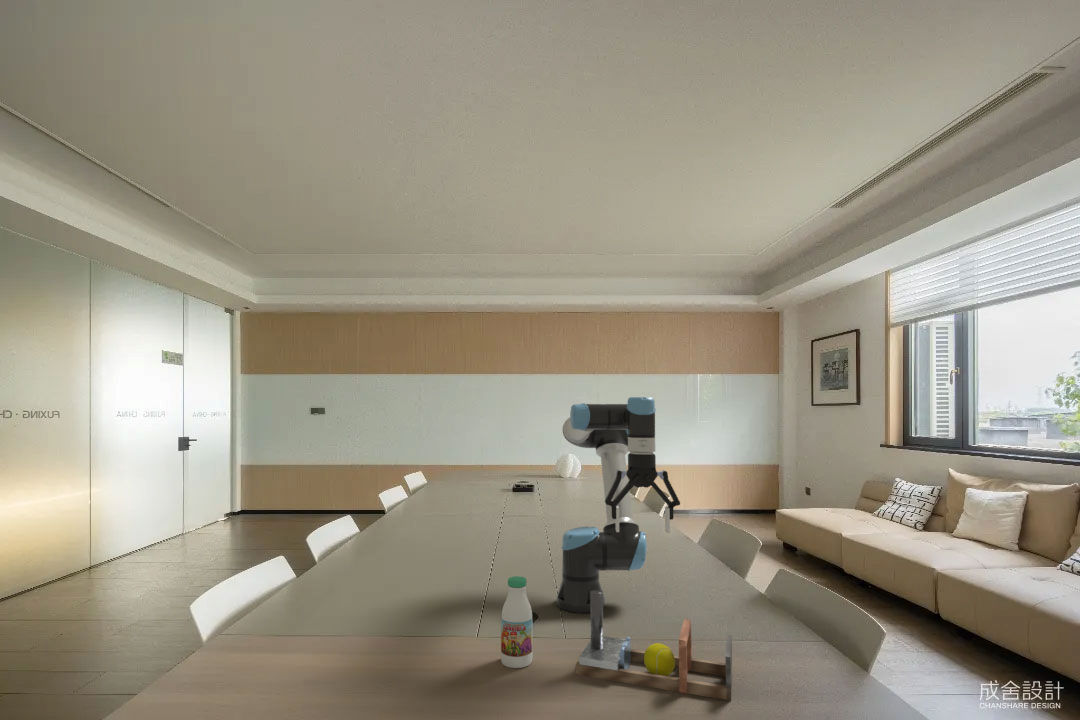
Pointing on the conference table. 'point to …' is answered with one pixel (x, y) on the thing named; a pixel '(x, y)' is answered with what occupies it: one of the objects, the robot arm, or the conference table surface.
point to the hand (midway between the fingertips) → (642, 531)
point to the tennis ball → (659, 659)
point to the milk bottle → (516, 626)
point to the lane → (681, 662)
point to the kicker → (604, 642)
